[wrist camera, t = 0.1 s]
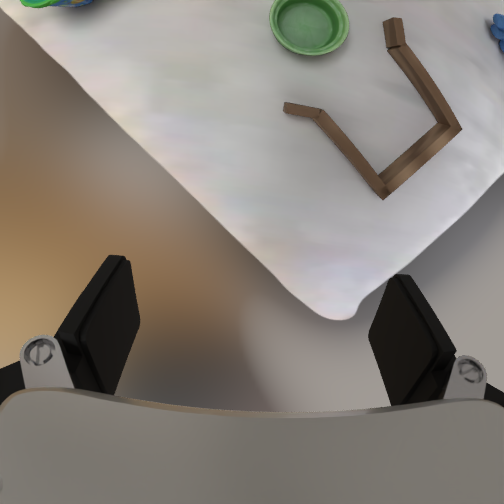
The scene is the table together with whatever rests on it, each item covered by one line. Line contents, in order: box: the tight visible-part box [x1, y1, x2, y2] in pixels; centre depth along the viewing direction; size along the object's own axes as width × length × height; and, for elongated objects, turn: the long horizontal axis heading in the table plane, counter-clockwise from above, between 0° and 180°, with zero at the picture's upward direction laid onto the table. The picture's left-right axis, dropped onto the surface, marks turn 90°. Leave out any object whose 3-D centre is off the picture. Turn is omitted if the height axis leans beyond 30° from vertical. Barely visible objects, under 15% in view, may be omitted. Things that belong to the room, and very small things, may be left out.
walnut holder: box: [283, 17, 462, 200], centre depth 33 cm, size 20×17×4 cm
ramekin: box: [269, 0, 349, 56], centre depth 28 cm, size 9×9×4 cm
